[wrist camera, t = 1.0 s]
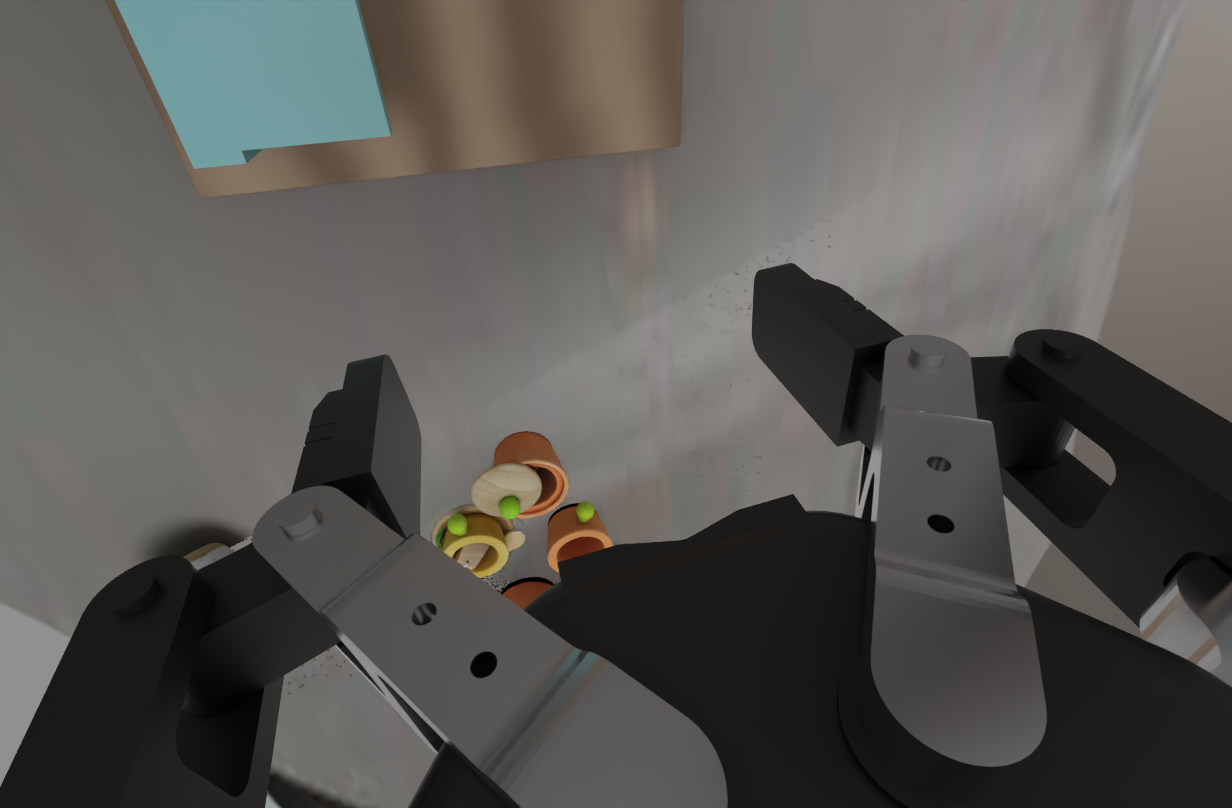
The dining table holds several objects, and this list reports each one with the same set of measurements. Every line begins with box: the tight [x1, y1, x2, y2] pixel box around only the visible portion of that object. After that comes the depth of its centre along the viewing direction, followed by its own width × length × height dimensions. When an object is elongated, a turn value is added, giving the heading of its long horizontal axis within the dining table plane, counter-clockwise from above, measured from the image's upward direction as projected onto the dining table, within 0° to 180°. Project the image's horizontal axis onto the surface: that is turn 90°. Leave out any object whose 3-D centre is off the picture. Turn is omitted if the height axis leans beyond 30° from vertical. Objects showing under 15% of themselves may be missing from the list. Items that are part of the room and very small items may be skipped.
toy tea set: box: [432, 431, 613, 610], centre depth 47 cm, size 26×16×10 cm, turn 21°
